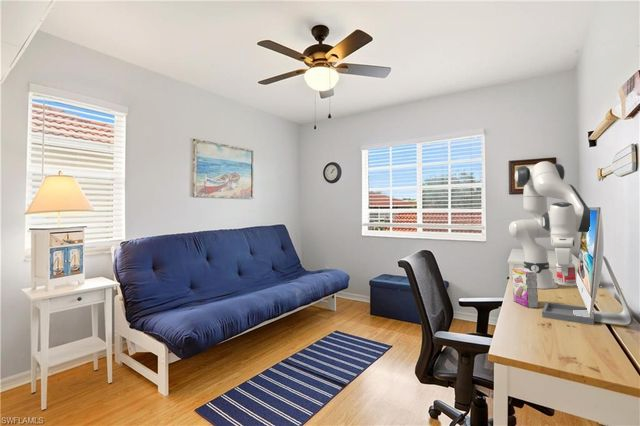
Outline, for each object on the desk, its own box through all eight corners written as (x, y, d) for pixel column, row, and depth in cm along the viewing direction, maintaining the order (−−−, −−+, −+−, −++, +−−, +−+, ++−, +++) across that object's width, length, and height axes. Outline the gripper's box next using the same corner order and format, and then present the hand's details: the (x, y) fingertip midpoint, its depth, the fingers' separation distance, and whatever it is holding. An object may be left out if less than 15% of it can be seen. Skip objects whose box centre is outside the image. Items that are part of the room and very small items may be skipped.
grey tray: (546, 307, 138) (546, 302, 138) (593, 313, 127) (593, 307, 127) (542, 317, 126) (542, 311, 126) (594, 325, 116) (593, 318, 116)
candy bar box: (512, 301, 149) (511, 268, 149) (523, 301, 149) (521, 267, 149) (528, 308, 138) (526, 272, 138) (539, 308, 138) (537, 271, 138)
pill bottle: (578, 284, 126) (576, 257, 126) (572, 286, 123) (571, 259, 123) (560, 282, 131) (558, 256, 131) (554, 284, 128) (553, 258, 128)
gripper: (556, 238, 137) (558, 269, 137) (552, 243, 122) (554, 277, 122) (574, 238, 133) (576, 270, 133) (572, 243, 118) (574, 279, 117)
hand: (565, 273), depth 127 cm, fingers closed on pill bottle, 6 cm apart
